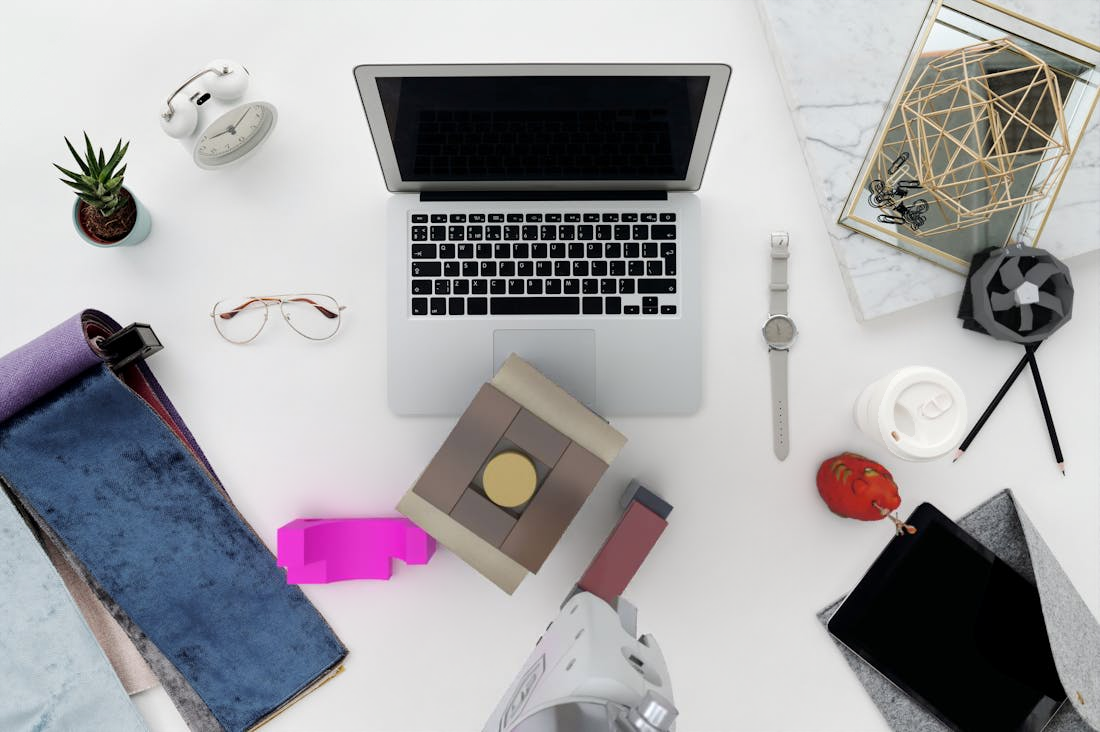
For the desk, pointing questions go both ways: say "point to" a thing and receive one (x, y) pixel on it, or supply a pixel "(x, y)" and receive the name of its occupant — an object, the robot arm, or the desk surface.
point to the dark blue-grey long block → (645, 499)
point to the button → (510, 478)
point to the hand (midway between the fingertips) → (565, 646)
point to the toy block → (349, 548)
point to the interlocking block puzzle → (547, 439)
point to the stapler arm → (621, 553)
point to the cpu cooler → (1017, 294)
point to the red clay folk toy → (859, 489)
